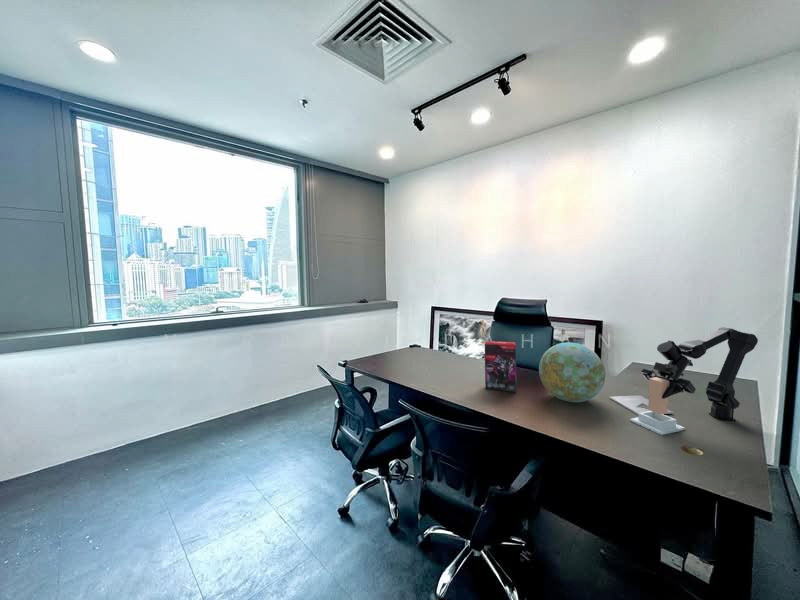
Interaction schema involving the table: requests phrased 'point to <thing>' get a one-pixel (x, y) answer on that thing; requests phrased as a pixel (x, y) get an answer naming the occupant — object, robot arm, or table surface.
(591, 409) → the table surface
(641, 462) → the table surface
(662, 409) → the tall salmon pillar
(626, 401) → the play button award
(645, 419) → the white square socket base
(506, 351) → the graphics card box
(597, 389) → the decorative globe
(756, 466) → the table surface
